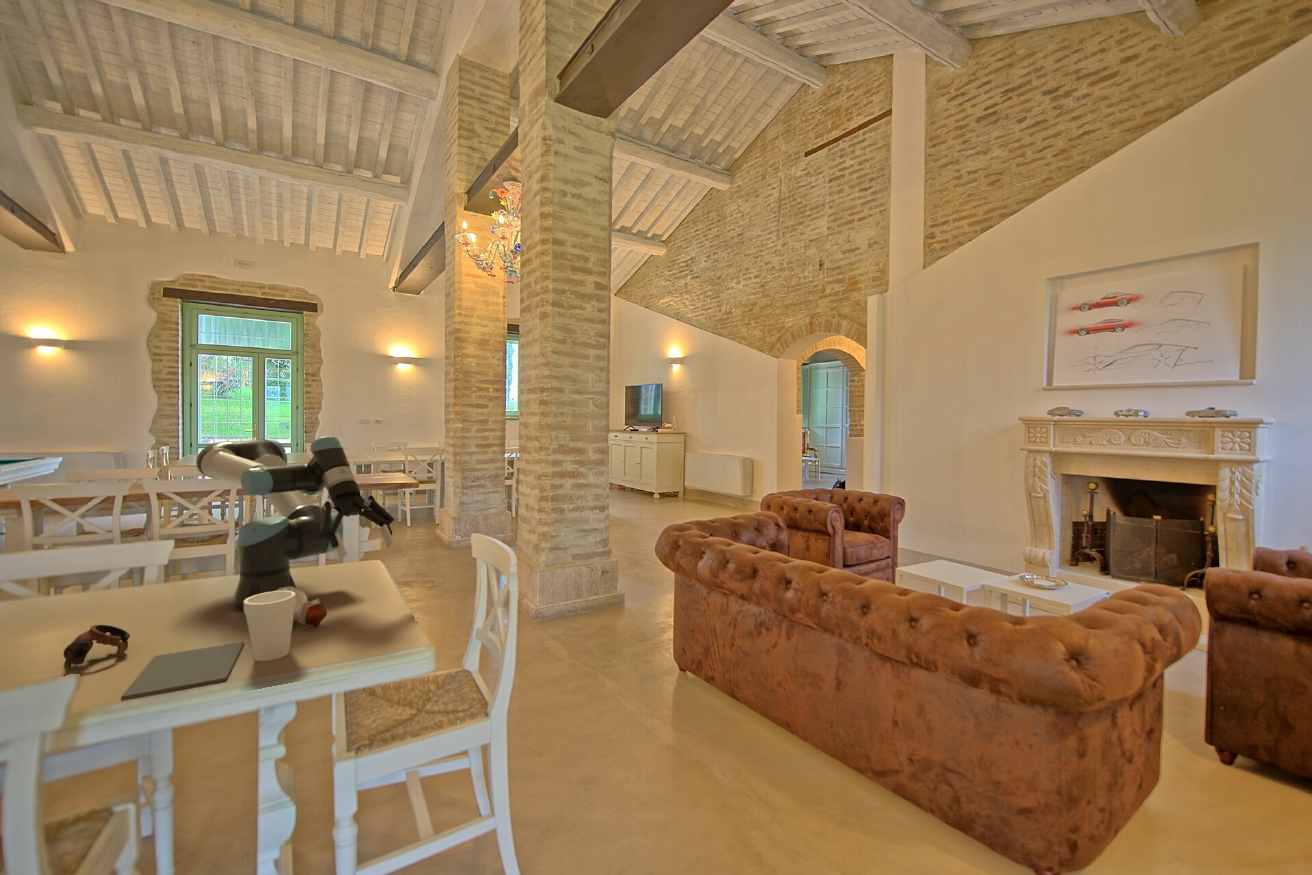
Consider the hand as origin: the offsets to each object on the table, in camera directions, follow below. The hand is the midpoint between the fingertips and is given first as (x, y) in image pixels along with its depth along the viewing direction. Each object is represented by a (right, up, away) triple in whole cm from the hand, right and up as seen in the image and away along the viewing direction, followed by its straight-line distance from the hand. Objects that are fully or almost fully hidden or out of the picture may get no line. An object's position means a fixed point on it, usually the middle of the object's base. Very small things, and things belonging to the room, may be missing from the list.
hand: (368, 551), depth 156 cm
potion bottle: (-12, -16, -12) cm, 24 cm away
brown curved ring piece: (-44, -17, -32) cm, 57 cm away
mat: (-19, -17, -37) cm, 45 cm away
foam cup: (-6, -17, -30) cm, 35 cm away
